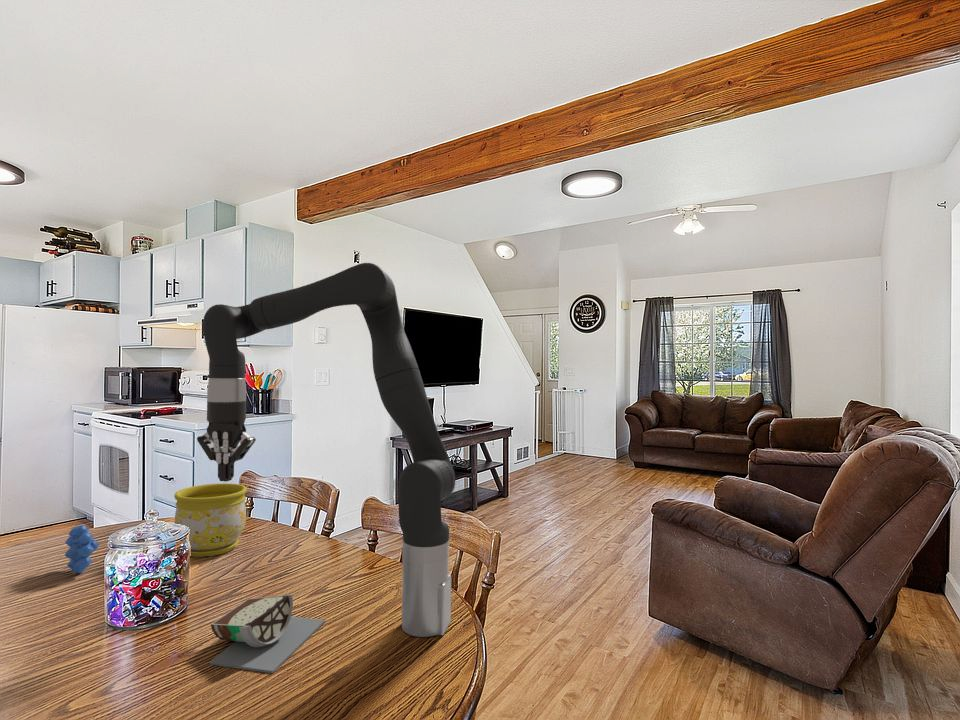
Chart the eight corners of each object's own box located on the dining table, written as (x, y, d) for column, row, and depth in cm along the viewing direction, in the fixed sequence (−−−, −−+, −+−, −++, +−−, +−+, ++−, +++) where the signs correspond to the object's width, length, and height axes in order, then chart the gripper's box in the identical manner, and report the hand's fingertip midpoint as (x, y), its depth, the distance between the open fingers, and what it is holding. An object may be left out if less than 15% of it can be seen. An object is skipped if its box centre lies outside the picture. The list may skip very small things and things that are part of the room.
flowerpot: (259, 546, 150) (260, 488, 150) (197, 566, 134) (198, 502, 134) (222, 534, 159) (223, 480, 159) (160, 552, 144) (161, 492, 144)
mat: (324, 622, 106) (324, 620, 106) (272, 673, 89) (272, 671, 89) (270, 615, 109) (270, 613, 109) (209, 664, 91) (209, 662, 91)
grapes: (109, 573, 129) (109, 524, 129) (76, 582, 124) (76, 531, 124) (90, 562, 136) (91, 515, 136) (58, 570, 130) (59, 522, 131)
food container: (210, 662, 94) (255, 662, 91) (203, 628, 94) (248, 627, 91) (258, 625, 106) (299, 624, 103) (253, 595, 106) (293, 593, 103)
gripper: (265, 399, 115) (264, 478, 115) (211, 397, 117) (210, 475, 117) (243, 401, 107) (242, 486, 107) (186, 399, 110) (185, 482, 110)
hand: (225, 480), depth 112 cm, fingers closed
